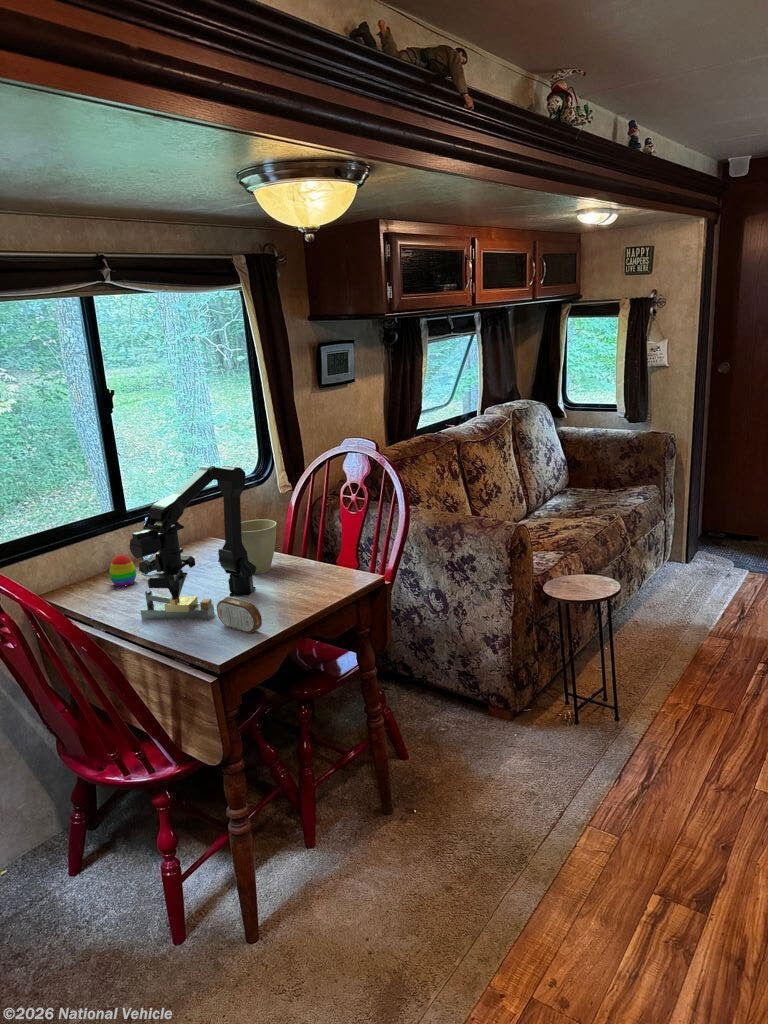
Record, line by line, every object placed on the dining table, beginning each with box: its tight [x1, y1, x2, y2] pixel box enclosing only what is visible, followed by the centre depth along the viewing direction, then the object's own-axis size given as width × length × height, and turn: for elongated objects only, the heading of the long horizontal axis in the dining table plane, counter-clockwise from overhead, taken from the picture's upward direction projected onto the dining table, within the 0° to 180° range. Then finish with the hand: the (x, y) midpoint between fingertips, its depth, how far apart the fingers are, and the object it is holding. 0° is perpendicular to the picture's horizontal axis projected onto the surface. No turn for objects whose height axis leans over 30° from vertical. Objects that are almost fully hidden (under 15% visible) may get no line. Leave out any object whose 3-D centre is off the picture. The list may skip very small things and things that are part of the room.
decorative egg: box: [109, 554, 137, 587], centre depth 231 cm, size 8×8×10 cm
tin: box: [216, 596, 263, 634], centre depth 191 cm, size 15×3×8 cm, turn 55°
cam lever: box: [144, 590, 180, 608], centre depth 200 cm, size 12×2×5 cm, turn 61°
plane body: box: [140, 598, 215, 621], centre depth 202 cm, size 20×4×5 cm, turn 83°
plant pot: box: [241, 519, 278, 575], centre depth 236 cm, size 15×15×16 cm
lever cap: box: [164, 595, 199, 612], centre depth 201 cm, size 7×6×2 cm
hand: (176, 599), depth 199 cm, fingers closed
